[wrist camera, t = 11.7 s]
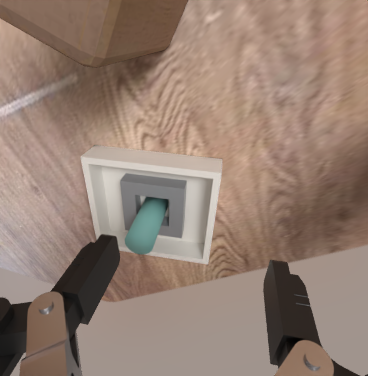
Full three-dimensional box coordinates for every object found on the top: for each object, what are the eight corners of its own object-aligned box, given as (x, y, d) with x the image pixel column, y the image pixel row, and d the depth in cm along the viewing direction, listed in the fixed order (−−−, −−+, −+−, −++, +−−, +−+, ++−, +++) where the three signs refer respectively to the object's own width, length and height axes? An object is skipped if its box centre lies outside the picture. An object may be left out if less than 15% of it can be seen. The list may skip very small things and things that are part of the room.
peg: (168, 193, 41) (153, 234, 32) (168, 213, 43) (153, 256, 34) (145, 190, 41) (123, 230, 33) (145, 209, 43) (125, 251, 35)
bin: (222, 158, 37) (221, 173, 33) (209, 245, 46) (208, 264, 43) (94, 144, 39) (80, 156, 35) (108, 230, 49) (97, 247, 45)
